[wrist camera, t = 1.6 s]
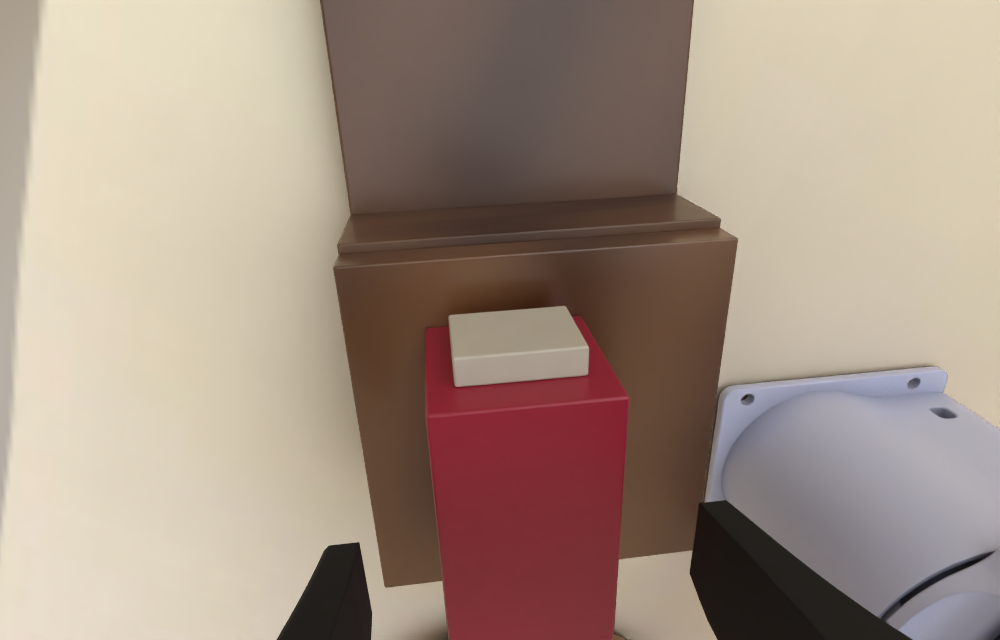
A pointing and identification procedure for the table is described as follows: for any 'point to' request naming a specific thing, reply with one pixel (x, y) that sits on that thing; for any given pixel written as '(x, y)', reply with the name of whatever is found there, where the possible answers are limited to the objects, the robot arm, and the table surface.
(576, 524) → the red box with cap
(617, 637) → the alarm clock
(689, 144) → the table surface
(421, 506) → the step shelf
